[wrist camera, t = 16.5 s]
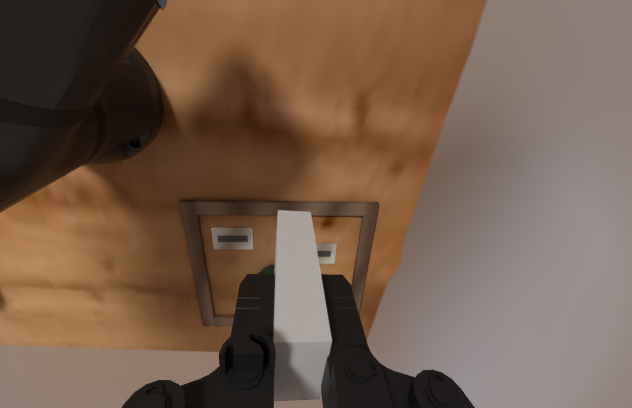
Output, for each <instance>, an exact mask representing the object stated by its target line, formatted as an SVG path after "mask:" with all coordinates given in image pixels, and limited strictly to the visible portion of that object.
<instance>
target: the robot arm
mask: <svg viewBox="0 0 632 408" xmlns="http://www.w3.org/2000/svg"><path fill="white" fill-rule="evenodd" d="M166 4H167V0H0V212H2V211H4V210H5V209H7V208H9V207H10V206H12V205H14V204H16V203H17V202H19V201H21V200H23V199H24V198H26V197H28V196H30V195H31V194H33V193H35V192H37V191H38V190H40V189H42V188H44V187H45V186H47V185H49V184H51V183H52V182H54V181H56V180H58V179H59V178H61V177H63V176H65V175H66V174H68V173H70V172H71V171H73V170H75V169H77V168H78V167H80V166H82V165H91V164H104V163H114V162H118V161H121V160H125V159H127V158H130V157H132V156H133V155H135V154H137V153H138V152H140V151H141V150H142V149H144V148H145V147H147V146H148V145H149V144H150V143H151V142H152V140H153V139H154V138H155V136H156V135H157V133H158V131H159V128H160V125H161V121H162V115H163V104H162V97H161V92H160V89H159V85H158V83H157V80H156V78H155V76H154V74H153V72H152V70H151V68H150V67H149V65H148V64H147V62H146V61H145V59H144V58H143V57H142V55H141V54H140V53H139V52H138V51H137V49H136V48H135V45H136V43H137V42H138V40H139V39H140V37H141V36H142V34H143V33H144V31H145V30H146V28H147V27H148V25H149V24H150V22H151V21H152V19H153V18H154V16H155V15H156V13H157V12H158V10H159V9H160V8H161V9H162V10H163V9H164V8H165V7H166ZM219 363H220V366H219V367H218V368H217V369H216V370H215V371H213V372H212V373H211V374H209V375H207V376H205V377H203V378H201V379H199V380H196V381H193V382H190V383H187V384H184V385H182V386H179V384H177V383H174V382H172V381H171V380H158V381H155V382H152V383H149V384H146V385H145V386H143V387H142V388H140V389H139V390H137V391H136V392H135V393H133V395H132V396H131V397H130V398H129V399H128V400H127V401H126V402H125V404H124V405H123V406H122V408H274V401H288V400H309V399H319V398H320V394H321V393H322V402H323V408H475V407H474V406H473V405H472V403H471V402H470V401H469V399H468V398H467V397H466V395H465V394H464V392H463V391H462V390H461V388H460V387H459V386H458V385H457V384H456V383H455V382H454V381H453V380H452V379H451V378H449V377H448V376H446V375H444V374H443V373H442V372H438V371H435V370H423V371H422V372H420V373H419V374H418V375H417V376H416V378H415V377H412V376H409V375H405V374H402V373H399V372H396V371H393V370H390V369H388V368H386V367H385V366H383V365H382V364H380V363H379V362H378V361H377V360H376V358H374V356H373V355H372V353H371V352H370V350H369V347H368V345H367V341H366V338H365V334H364V331H363V327H362V323H361V320H360V316H359V313H358V309H357V306H356V302H355V299H354V295H353V291H352V288H351V285H350V283H349V282H348V281H347V280H346V278H345V277H344V276H343V275H326V274H321V271H320V265H319V259H318V253H317V247H316V241H315V235H314V229H313V223H312V217H311V212H305V211H284V210H278V214H277V231H276V249H275V270H274V275H272V274H247V276H246V277H245V278H244V280H243V281H242V282H241V284H240V287H239V293H238V299H237V304H236V310H235V315H234V321H233V326H232V332H231V336H230V337H229V339H228V340H227V341H226V342H225V343H224V344H223V346H222V348H221V350H220V353H219Z"/></svg>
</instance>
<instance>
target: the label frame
mask: <svg viewBox="0 0 632 408" xmlns="http://www.w3.org/2000/svg"><path fill="white" fill-rule="evenodd" d="M180 207H181V212H182V217H183V223H184V228H185V233H186V239H187V244H188V249H189V254H190V260H191V265H192V270H193V276H194V281H195V286H196V291H197V297H198V302H199V307H200V313H201V318H202V323H203V326H230V325H233V321H234V315H214V311H213V304H212V298H211V292H210V285H209V279H208V273H207V266H206V260H205V254H204V247H203V241H202V235H201V228H200V222H199V216H198V215H277V214H278V210H284V211H305V212H311V215H315V216H363V217H362V223H361V229H360V236H359V242H358V249H357V255H356V261H355V268H354V274H353V280H352V287H351V288H352V291H353V295H354V299H355V302H356V306H357V309H358V313H359V310H360V305H361V300H362V294H363V289H364V283H365V278H366V272H367V267H368V262H369V256H370V251H371V245H372V240H373V234H374V229H375V224H376V218H377V213H378V207H379V203H378V202H314V201H224V200H181V201H180ZM211 232H212V240H213V247H214V250H229V249H254V245H253V228H232V227H211ZM336 246H337V244H316V247H317V253H318V259H319V264H331V263H335V255H336Z"/></svg>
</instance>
